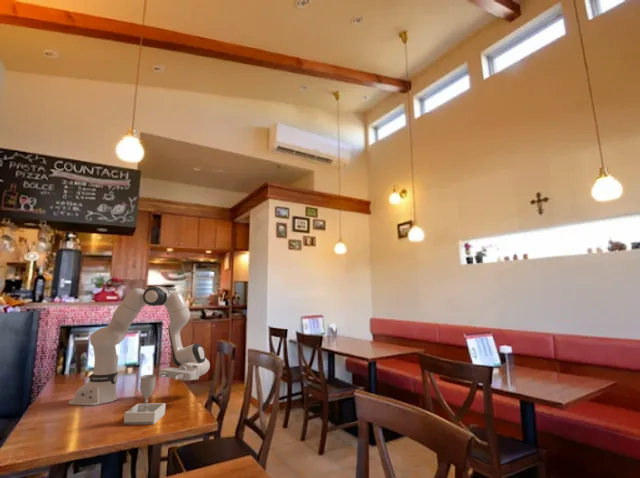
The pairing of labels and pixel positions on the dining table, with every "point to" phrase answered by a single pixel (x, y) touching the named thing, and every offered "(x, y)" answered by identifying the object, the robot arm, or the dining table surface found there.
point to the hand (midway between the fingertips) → (167, 376)
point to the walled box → (144, 414)
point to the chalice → (147, 387)
